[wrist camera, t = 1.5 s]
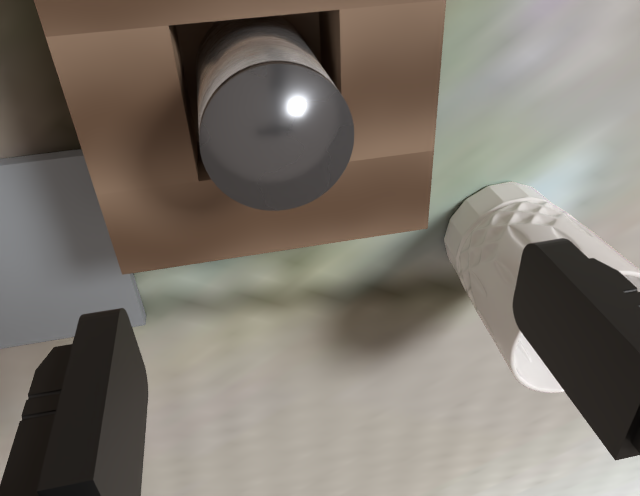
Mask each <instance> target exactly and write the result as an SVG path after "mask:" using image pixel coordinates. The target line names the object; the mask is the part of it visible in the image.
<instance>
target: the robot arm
mask: <svg viewBox="0 0 640 496" xmlns="http://www.w3.org/2000/svg"><path fill="white" fill-rule="evenodd" d="M513 314H514V318H515V321H516V324H517V326H518V328H519V330H520V331H521V333H522V334H523V335H524V337H525V338H526V339H527V341H528V342H529V343H530V345H531V346H532V348H533V349H534V350H535V352H536V353H537V354H538V356H539V357H540V358H541V360H542V361H543V363H544V364H545V365H546V367H547V368H548V369H549V371H550V372H551V373H552V375H553V376H554V378H555V379H556V380H557V382H558V383H559V384H560V386H561V387H562V388H563V390H564V391H565V392H566V394H567V395H568V397H569V398H570V399H571V401H572V402H573V403H574V405H575V406H576V407H577V409H578V410H579V412H580V413H581V414H582V416H583V417H584V418H585V420H586V421H587V422H588V424H589V425H590V427H591V428H592V429H593V431H594V432H595V433H596V435H597V436H598V437H599V439H600V440H601V441H602V443H603V444H604V446H605V447H606V448H607V450H608V451H609V452H610V454H611V455H612V456H613V458H614V459H615V460H619V459H624V458H628V457H633V456H637V455H640V292H638V290H637V287H636V286H635V285H633V284H632V283H631V282H630V281H629V280H628V279H627V278H626V277H625V276H624V275H622V274H621V273H620V272H619V271H618V270H616V269H614V268H612V267H610V266H608V265H606V264H604V263H602V262H600V261H598V260H596V259H595V258H590V259H589V258H588V257H587V256H586V255H585V254H584V253H583V252H581V251H580V250H579V249H578V248H577V247H576V246H575V245H574V244H573V243H572V242H571V241H570V240H568V239H565V238H560V239H554V240H548V241H542V242H535V243H529V244H527V245H526V246H525V248H524V250H523V252H522V257H521V262H520V267H519V272H518V277H517V282H516V287H515V292H514V297H513ZM28 397H29V399H28V400H26V403H25V406H24V410H23V413H22V421H20V423H19V426H18V429H17V432H16V436H15V439H14V442H13V445H12V449H11V452H10V455H9V458H8V462H7V465H6V468H5V471H4V475H3V478H2V481H1V484H0V496H141V483H142V470H143V457H144V444H145V431H146V418H147V404H148V382H147V375H146V370H145V365H144V362H143V359H142V356H141V353H140V350H139V347H138V344H137V341H136V338H135V335H134V332H133V329H132V326H131V323H130V320H129V317H128V314H127V312H126V310H125V309H124V308H119V309H112V310H106V311H100V312H94V313H88V314H82V315H81V316H80V318H79V321H78V324H77V329H76V333H75V337H74V341H73V344H70V345H64V346H58V347H54V348H53V349H52V351H51V352H50V353H49V354H48V356H47V357H46V358H45V359H44V361H43V362H42V363H41V364H40V366H39V367H38V368H37V369H36V371H35V374H34V377H33V380H32V384H31V387H30V390H29V393H28Z"/></svg>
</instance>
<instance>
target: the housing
mask: <svg viewBox="0 0 640 496" xmlns="http://www.w3.org/2000/svg"><path fill="white" fill-rule="evenodd" d="M34 3H35V6H36V9H37V12H38V15H39V18H40V21H41V24H42V28H43V31H44V34H45V37H46V40H47V43H48V46H49V49H50V52H51V55H52V59H53V62H54V65H55V68H56V71H57V74H58V77H59V80H60V83H61V87H62V90H63V93H64V96H65V99H66V102H67V105H68V108H69V111H70V114H71V118H72V121H73V124H74V127H75V130H76V133H77V136H78V139H79V142H80V146H81V149H82V152H83V155H84V158H85V161H86V164H87V167H88V170H89V173H90V177H91V180H92V183H93V186H94V189H95V192H96V195H97V198H98V201H99V205H100V208H101V211H102V214H103V217H104V220H105V223H106V226H107V229H108V232H109V236H110V239H111V242H112V245H113V248H114V251H115V254H116V257H117V260H118V264H119V267H120V270H121V273H122V275H124V274H130V273H137V272H144V271H150V270H157V269H163V268H170V267H176V266H183V265H190V264H196V263H203V262H209V261H216V260H223V259H229V258H236V257H242V256H249V255H256V254H262V253H269V252H275V251H282V250H289V249H295V248H302V247H308V246H315V245H321V244H328V243H335V242H341V241H348V240H354V239H361V238H368V237H374V236H381V235H387V234H394V233H401V232H407V231H414V230H420V229H427V228H428V216H429V204H430V191H431V179H432V167H433V155H434V142H435V130H436V118H437V105H438V93H439V81H440V68H441V56H442V44H443V32H444V19H445V7H446V0H34ZM276 15H279V16H280V17H282V18H284V19H285V20H287V21H288V22H289V23H290V24H292V26H293V27H294V28H295V29H296V30H297V31H298V32H299V34H300V35H301V37H302V38H303V39H304V41H305V42H306V44H307V45H308V47H309V48H310V50H311V51H312V53H313V54H314V55H315V57H316V58H317V60H318V61H319V63H320V64H321V66H322V67H323V69H324V70H325V71H326V73H327V74H328V76H329V77H330V79H331V80H332V82H333V83H334V85H335V86H336V87H337V89H338V90H339V92H340V93H341V95H342V96H343V98H344V99H345V101H346V103H347V105H348V107H349V110H350V112H351V115H352V119H353V124H354V145H353V150H352V154H351V157H350V160H349V163H348V165H347V167H346V169H345V171H344V172H343V174H342V175H341V177H340V178H339V179H338V181H337V182H336V183H335V184H334V185H333V186H332V187H331V188H330V189H329V190H328V191H327V192H326V193H324V194H323V195H322V196H320V197H319V198H317V199H315V200H314V201H312V202H310V203H307V204H305V205H303V206H300V207H296V208H293V209H288V210H279V211H267V210H260V209H255V208H251V207H248V206H245V205H243V204H240V203H238V202H237V201H235V200H233V199H231V198H230V197H228V196H227V195H226V194H224V193H223V192H222V191H221V190H220V189H219V188H218V187H217V186H216V185H215V183H214V182H213V181H212V180H211V178H210V176H209V175H208V173H207V171H206V169H205V167H204V164H203V161H202V158H201V154H200V146H199V127H198V104H197V81H196V58H197V53H198V49H199V46H200V44H201V41H202V39H203V37H204V36H205V34H206V33H207V31H208V30H209V29H210V28H211V27H212V26H213V25H214V24H215V23H216V22H217V21H223V20H233V19H244V18H255V17H266V16H276Z"/></svg>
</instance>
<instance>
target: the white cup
mask: <svg viewBox="0 0 640 496" xmlns="http://www.w3.org/2000/svg"><path fill="white" fill-rule="evenodd" d="M560 238H565V239H568V240H570V241H571V242H572V243H573V244H574V245H575V246H576V247H577V248H578V249H579V250H580V251H581V252H583V253H584V254H585V255H586V256H587V257H588V258H589V259H590V258H595V259H596V260H598V261H600V262H602V263H604V264H606V265H608V266H610V267H612V268H614V269H616V270H618V271H619V272H620V273H621V274H622V275H624V276H625V277H626V278H627V279H628V280H629V281H630V282H631V283H632V284H633V285H635V286H636V287H637V290H638V292H640V269H639V268H638V267H636V266H635V265H634V264H633V263H631V262H630V261H629V260H628V259H626V258H625V257H624V256H623V255H621V254H620V253H619V252H618V251H616V250H615V249H614V248H613V247H611V246H610V245H609V244H608V243H606V242H605V241H604V240H603V239H601V238H600V237H599V236H598V235H596V234H595V233H594V232H593V231H591V230H590V229H589V228H587V227H586V226H584V225H583V224H581V223H580V222H578V221H577V220H576V219H575V218H574V217H572V216H571V215H570V214H568V213H567V212H566V211H564V210H562V209H561V208H559V207H557V206H556V205H554V204H553V203H551V202H550V201H549V200H548V199H547V198H545V197H544V196H543V195H542V194H540V193H539V192H538V191H537V190H536V189H534V188H533V187H531V186H527V185H523V184H520V183H516V182H512V181H511V182H505V183H500V184H495V185H490V186H487V187H485V188H483V189H482V190H480V191H479V192H477V193H475V194H474V195H472V196H470V197H469V198H467V199H466V200H465V201H464V202H463V203H462V205H461V206H460V207H459V208H458V209H457V211H456V212H455V213H454V214H453V216H452V217H451V218H450V220H449V224H448V227H447V231H446V234H445V237H444V243H445V247H446V251H447V255H448V259H449V261H450V262H451V264H452V266H453V267H454V269H455V271H456V272H457V274H458V276H459V278H460V280H461V283H462V285H463V287H464V289H465V291H466V293H467V295H468V296H469V298H470V299H471V301H472V303H473V305H474V307H475V309H476V311H477V313H478V315H479V317H480V318H481V320H482V322H483V323H484V325H485V327H486V329H487V330H488V332H489V334H490V335H491V337H492V339H493V340H494V342H495V344H496V346H497V347H498V349H499V351H500V353H501V354H502V356H503V358H504V360H505V361H506V363H507V365H508V366H509V368H510V370H511V372H512V373H513V375H514V377H515V378H516V380H517V381H518V382H519V383H521V384H522V385H523V386H525V387H527V388H529V389H531V390H534V391H538V392H544V393H559V392H565V391H564V390H563V388H562V387H561V386H560V384H559V383H558V382H557V380H556V379H555V378H554V376H553V375H552V373H551V372H550V371H549V369H548V368H547V367H546V365H545V364H544V363H543V361H542V360H541V358H540V357H539V356H538V354H537V353H536V352H535V350H534V349H533V348H532V346H531V345H530V343H529V342H528V341H527V339H526V338H525V337H524V335H523V334H522V333H521V331H520V330H519V328H518V326H517V324H516V321H515V318H514V314H513V297H514V292H515V287H516V282H517V277H518V272H519V267H520V262H521V257H522V252H523V250H524V248H525V246H526V245H527V244H529V243H535V242H542V241H548V240H554V239H560Z"/></svg>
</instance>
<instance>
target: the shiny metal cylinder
mask: <svg viewBox="0 0 640 496" xmlns="http://www.w3.org/2000/svg"><path fill="white" fill-rule="evenodd" d="M196 81H197V104H198V127H199V146H200V154H201V158H202V161H203V164H204V167H205V169H206V171H207V173H208V175H209V176H210V178H211V180H212V181H213V182H214V183H215V185H216V186H217V187H218V188H219V189H220V190H221V191H222V192H223V193H224V194H226V195H227V196H228V197H230V198H231V199H233V200H235V201H237V202H238V203H240V204H243V205H245V206H248V207H251V208H255V209H260V210H267V211H279V210H288V209H293V208H296V207H300V206H303V205H305V204H307V203H310V202H312V201H314V200H315V199H317V198H319V197H320V196H322V195H323V194H324V193H326V192H327V191H328V190H329V189H330V188H331V187H332V186H333V185H334V184H335V183H336V182H337V181H338V179H339V178H340V177H341V175H342V174H343V172H344V171H345V169H346V167H347V165H348V163H349V160H350V157H351V154H352V150H353V145H354V124H353V119H352V115H351V112H350V110H349V107H348V105H347V103H346V101H345V99H344V98H343V96H342V95H341V93H340V92H339V90H338V89H337V87H336V86H335V85H334V83H333V82H332V80H331V79H330V77H329V76H328V74H327V73H326V71H325V70H324V69H323V67H322V66H321V64H320V63H319V61H318V60H317V58H316V57H315V55H314V54H313V53H312V51H311V50H310V48H309V47H308V45H307V44H306V42H305V41H304V39H303V38H302V37H301V35H300V34H299V32H298V31H297V30H296V29H295V28H294V27H293V26H292V24H290V23H289V22H288V21H287V20H285V19H284V18H282V17H280V16H279V15H276V16H266V17H255V18H244V19H233V20H223V21H217V22H216V23H215V24H214V25H213V26H212V27H211V28H210V29H209V30H208V31H207V33H206V34H205V36H204V37H203V39H202V41H201V44H200V46H199V49H198V53H197V58H196Z"/></svg>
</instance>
